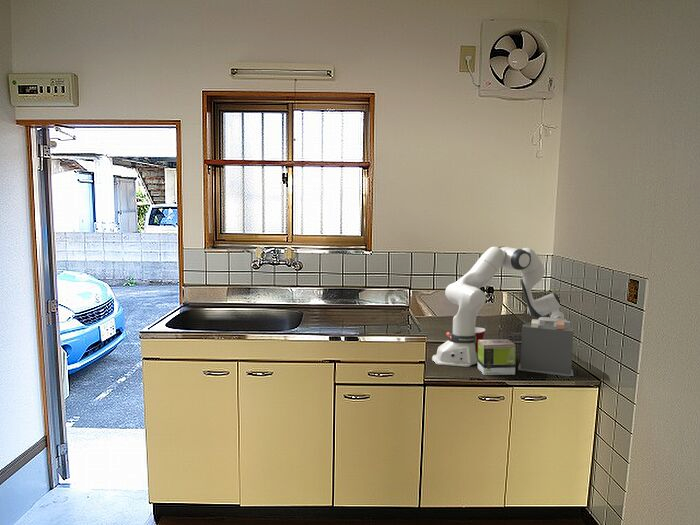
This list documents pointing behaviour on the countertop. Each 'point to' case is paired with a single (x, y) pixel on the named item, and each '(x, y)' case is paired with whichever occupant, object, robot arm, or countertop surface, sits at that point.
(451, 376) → the countertop surface
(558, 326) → the terracotta key
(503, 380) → the countertop surface
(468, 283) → the robot arm
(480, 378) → the countertop surface
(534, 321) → the ivory key
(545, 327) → the panel
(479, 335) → the plastic cup
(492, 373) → the tea box
